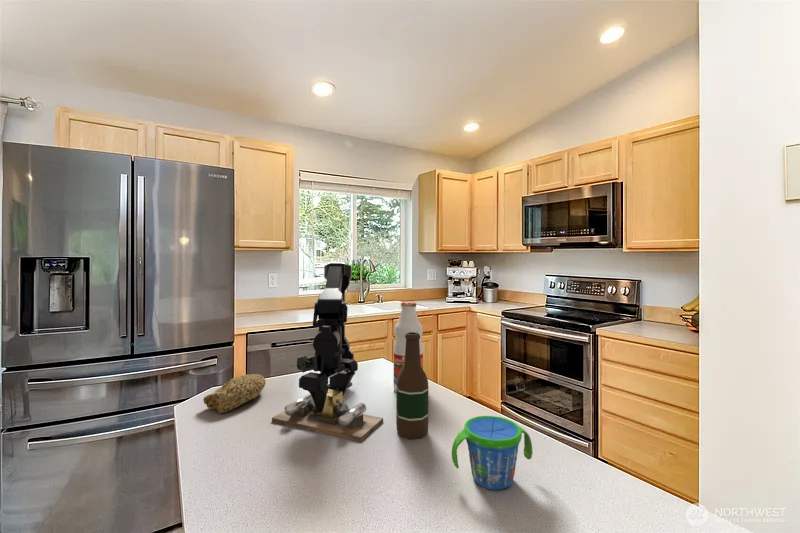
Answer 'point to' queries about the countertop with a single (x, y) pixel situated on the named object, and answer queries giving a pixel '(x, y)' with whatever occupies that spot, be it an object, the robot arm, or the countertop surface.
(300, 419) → the padlock latch board
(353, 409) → the shafts
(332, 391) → the block
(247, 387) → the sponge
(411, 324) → the fruit juice
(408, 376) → the beer bottle
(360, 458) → the countertop surface
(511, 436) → the snack cup
